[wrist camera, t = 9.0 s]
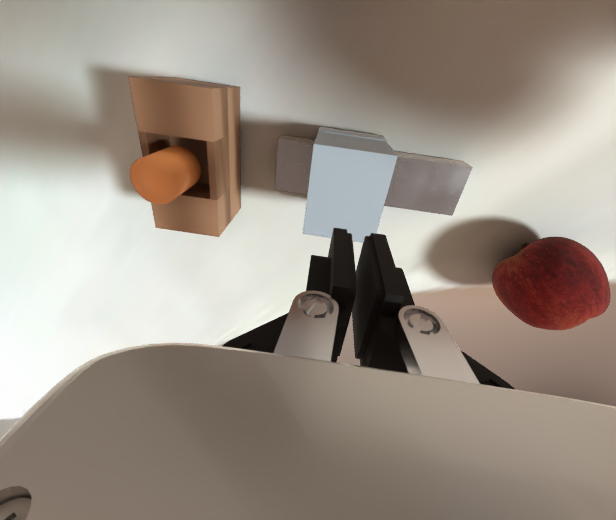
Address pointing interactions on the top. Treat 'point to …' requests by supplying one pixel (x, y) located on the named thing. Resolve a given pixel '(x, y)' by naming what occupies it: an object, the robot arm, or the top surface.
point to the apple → (552, 284)
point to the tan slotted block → (193, 147)
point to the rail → (404, 183)
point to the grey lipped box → (348, 183)
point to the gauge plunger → (165, 174)
